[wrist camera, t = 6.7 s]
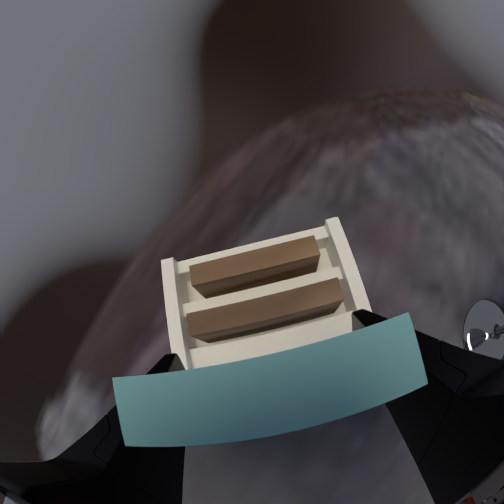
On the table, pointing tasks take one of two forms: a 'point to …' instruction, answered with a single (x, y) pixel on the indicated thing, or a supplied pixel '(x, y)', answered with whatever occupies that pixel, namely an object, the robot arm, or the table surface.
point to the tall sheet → (272, 389)
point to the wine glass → (485, 329)
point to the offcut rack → (190, 300)
